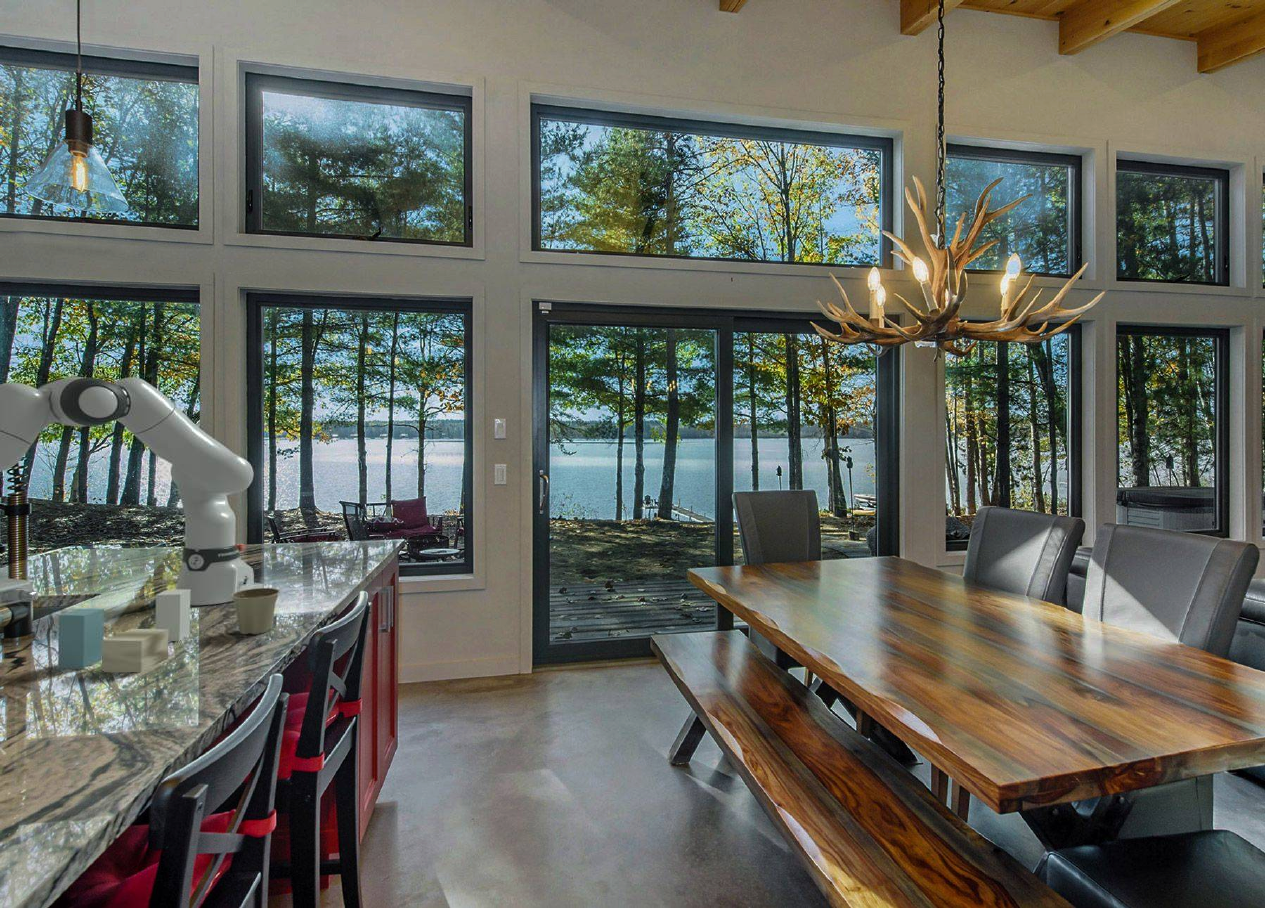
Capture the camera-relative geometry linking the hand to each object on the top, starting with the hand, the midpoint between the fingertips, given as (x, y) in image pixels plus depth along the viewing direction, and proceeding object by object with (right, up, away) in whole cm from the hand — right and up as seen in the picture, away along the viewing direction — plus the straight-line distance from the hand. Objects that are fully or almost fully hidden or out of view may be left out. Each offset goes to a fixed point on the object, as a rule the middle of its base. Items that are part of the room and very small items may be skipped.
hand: (11, 602), depth 116 cm
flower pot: (+31, -12, +24) cm, 41 cm away
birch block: (+22, -12, +2) cm, 25 cm away
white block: (+17, -12, +17) cm, 27 cm away
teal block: (+12, -12, +1) cm, 17 cm away
